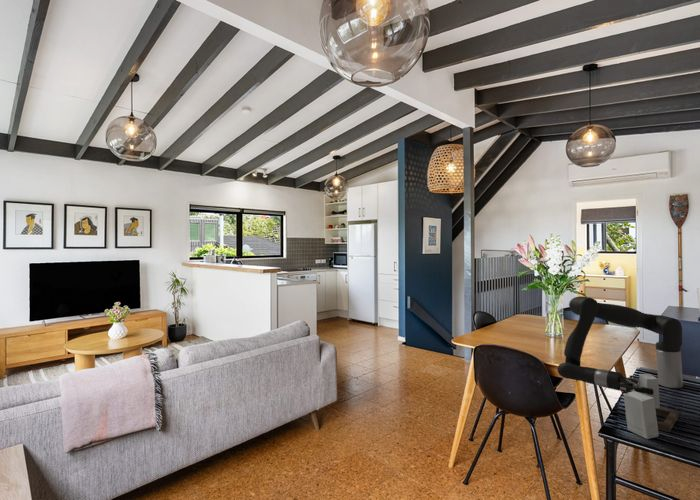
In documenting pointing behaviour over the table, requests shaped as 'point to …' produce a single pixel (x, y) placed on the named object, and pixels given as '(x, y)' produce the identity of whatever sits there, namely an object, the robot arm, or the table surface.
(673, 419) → the walnut collar
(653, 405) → the skincare box
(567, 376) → the robot arm
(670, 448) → the table surface
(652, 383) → the skincare box
